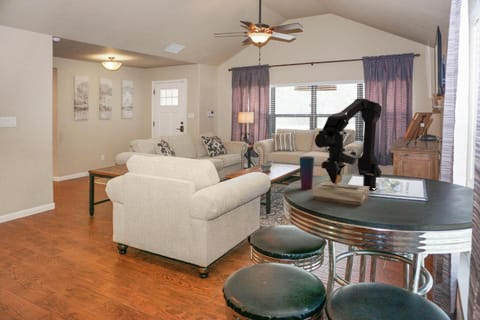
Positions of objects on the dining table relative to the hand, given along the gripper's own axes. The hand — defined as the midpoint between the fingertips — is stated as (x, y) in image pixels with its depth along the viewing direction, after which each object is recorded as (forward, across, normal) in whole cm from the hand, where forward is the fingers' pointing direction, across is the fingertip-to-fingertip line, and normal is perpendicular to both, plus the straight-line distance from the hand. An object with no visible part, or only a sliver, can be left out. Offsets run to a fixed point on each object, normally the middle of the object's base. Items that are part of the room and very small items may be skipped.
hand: (335, 182), depth 153 cm
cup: (+7, +11, +17) cm, 22 cm away
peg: (+5, 0, 0) cm, 5 cm away
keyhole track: (+7, 0, -2) cm, 7 cm away
